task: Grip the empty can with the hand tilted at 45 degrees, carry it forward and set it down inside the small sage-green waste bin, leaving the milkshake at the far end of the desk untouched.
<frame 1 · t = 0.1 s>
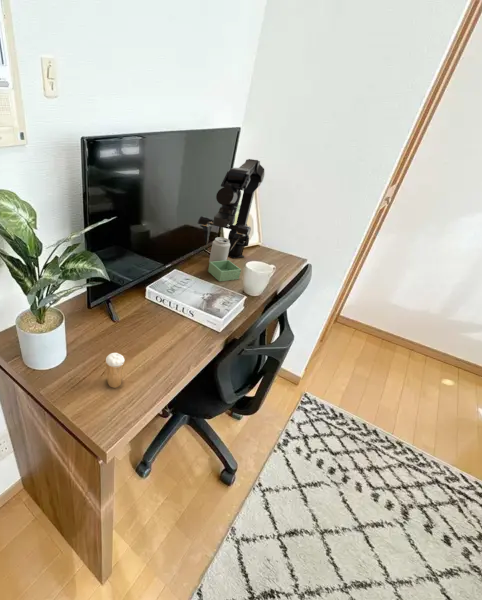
hand: (217, 248, 121), 15 cm above the table, tool pointing down, fingers open, 9 cm apart
can: (216, 264, 145), on the table
milkshake: (115, 384, 82), on the table
bin: (223, 275, 136), on the table
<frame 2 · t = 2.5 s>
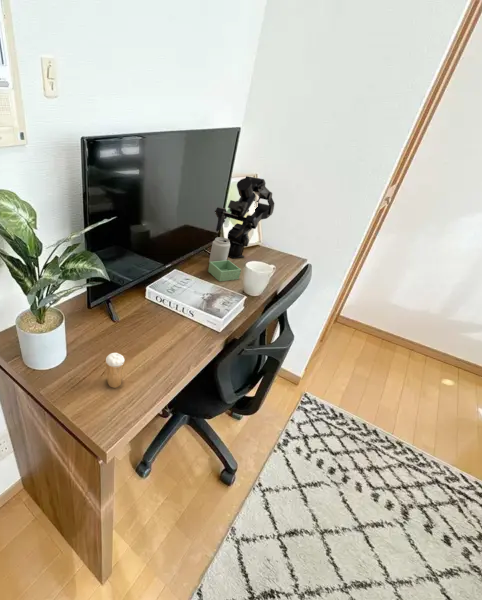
hand: (225, 234, 138), 14 cm above the table, tool tilted 45°, fingers open, 9 cm apart
nothing on the table moved.
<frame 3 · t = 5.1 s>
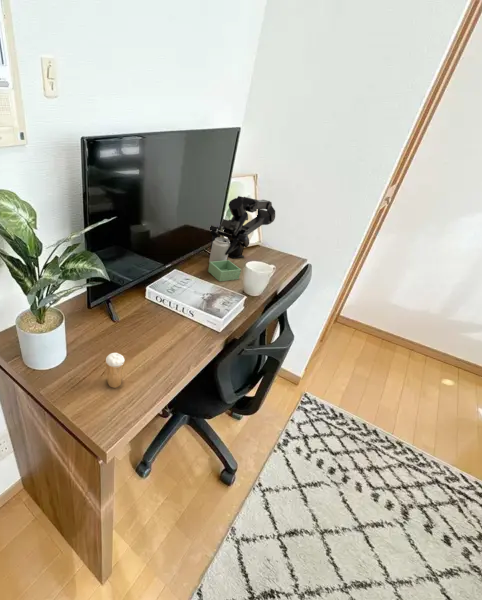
hand: (218, 251, 140), 7 cm above the table, tool tilted 45°, fingers closed on can, 7 cm apart
can: (216, 264, 145), on the table, touching gripper
everything else where it was.
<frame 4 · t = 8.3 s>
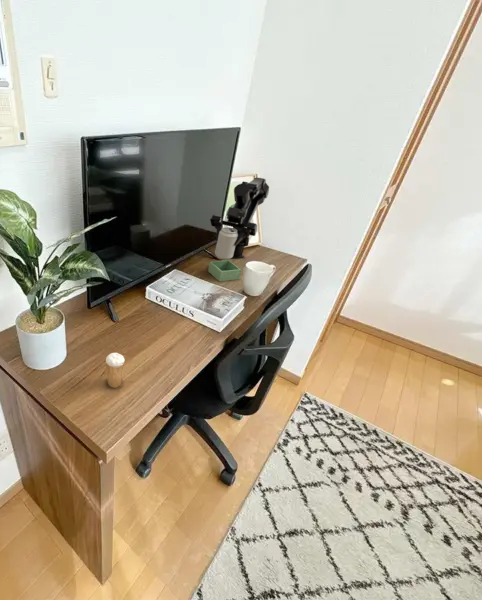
hand: (225, 243, 130), 14 cm above the table, tool tilted 45°, fingers closed on can, 7 cm apart
can: (223, 256, 135), point 7 cm above the table, touching gripper
everything else where it was.
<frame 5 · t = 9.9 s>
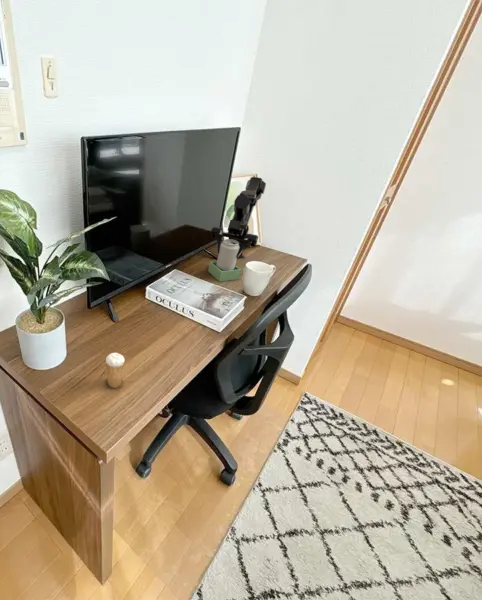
hand: (227, 255, 130), 10 cm above the table, tool tilted 45°, fingers closed on can, 7 cm apart
can: (224, 268, 135), point 3 cm above the table, touching gripper
everything else where it was.
when the fingers open (7 cm above the table, at t = 11.4 s): can stays where it is, resting on bin.
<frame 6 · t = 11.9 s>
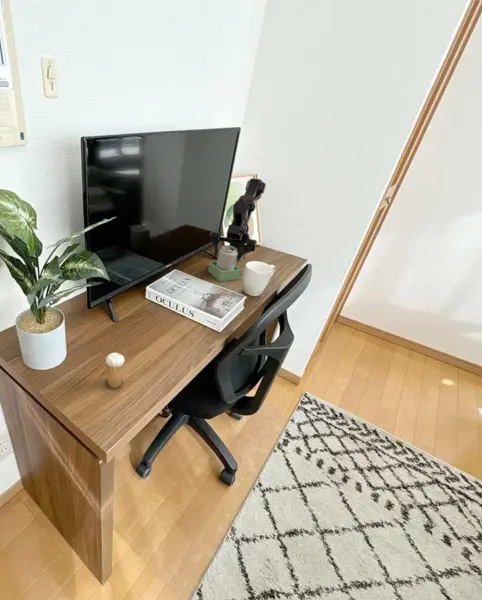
hand: (226, 259, 131), 8 cm above the table, tool tilted 45°, fingers open, 9 cm apart
can: (223, 274, 136), resting on bin
everything else where it was.
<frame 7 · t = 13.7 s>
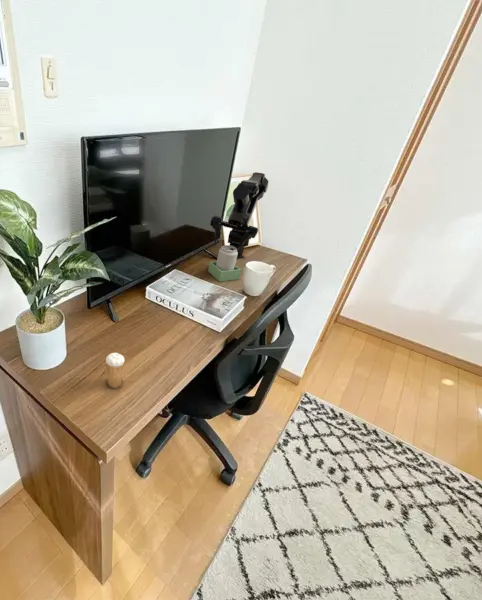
hand: (226, 246, 130), 13 cm above the table, tool tilted 40°, fingers open, 9 cm apart
can: (223, 274, 136), resting on bin, touching gripper
everything else where it was.
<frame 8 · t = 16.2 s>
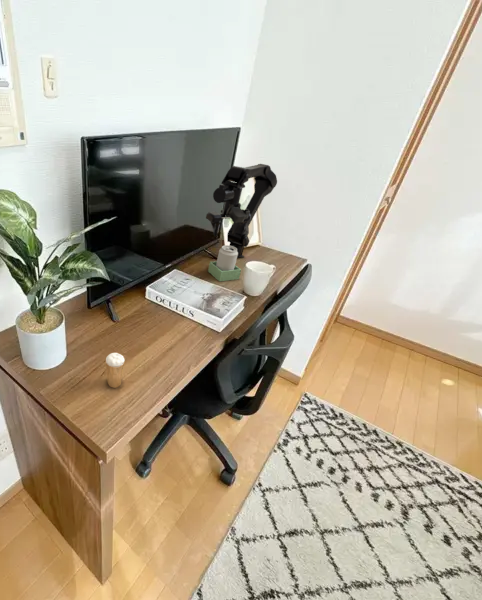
hand: (224, 235, 140), 13 cm above the table, tool pointing down, fingers open, 9 cm apart
can: (223, 274, 136), resting on bin
everything else where it was.
at the end: can inside the target area in the bin (0.1 cm from its centre), point 0.3 cm above the bin's base; the gripper is holding nothing; milkshake moved 0.2 cm from its start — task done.
